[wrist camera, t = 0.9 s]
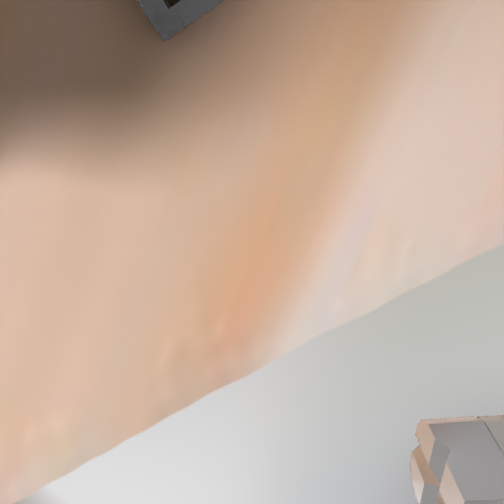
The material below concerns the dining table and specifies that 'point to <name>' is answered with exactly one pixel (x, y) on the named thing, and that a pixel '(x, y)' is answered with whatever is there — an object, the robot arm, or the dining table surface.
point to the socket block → (174, 14)
